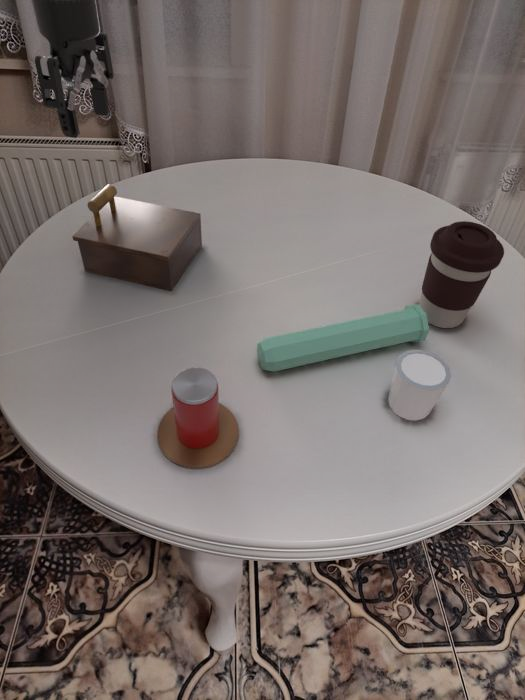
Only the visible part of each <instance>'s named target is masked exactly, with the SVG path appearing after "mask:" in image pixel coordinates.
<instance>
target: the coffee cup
mask: <svg viewBox="0 0 525 700" xmlns="http://www.w3.org/2000/svg"><path fill="white" fill-rule="evenodd" d="M429 247H430V251H431V253H430V255H429V257H428V262H427V266H426V269H425V273H424V277H423V281H422V284H421V294H420V298H419V302H418V304H419V305H420V307H421V308H422V309H423V310H424V312H425V313H426V314H427V320H428V324H430V325H432V326H434V327H437V328H441V329H453V328H455V327H459V326H460V325H461V324H462V323H463V322H464V321H465V319H466V317H467V315H468V313H469V312H470V309H472V307H473V306H474V305H475V303H476V302H477V300H478V299H479V296H480V295H481V293H482V292H483V290H484V288H485V286H486V284H487V282H488V281H489V279H490V277H491V274H492V271H493V270H495V269H496V268H498V267H499V265H500V264H501V262H502V260H503V258H504V255H505V249H504V246H503V244H502V243H501V241H500V240H499V239H498V237H497V236H496V234H495V232H494V231H493V230H491V229H490V228H489V227H487V226H485V225H483V224H482V223H481V224H480V223H478V222H473V221H466V220H464V221H455V222H452V223H450V224H448V225H445V226H442V227H440V228H438V229H436V230H435V231H434V232H433V234H432V237H431V239H430V244H429Z"/></svg>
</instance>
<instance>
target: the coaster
mask: <svg viewBox="0 0 525 700" xmlns="http://www.w3.org/2000/svg"><path fill="white" fill-rule="evenodd" d="M239 432H240V429H239V423H238V421H237V418H236V416H235V415H234V413H233V412H232V411H231V410H230V409H229V408H228V407H226V406H225V405H223V404H221V403H219V435H218V437H217V439H216V440H215V442H214V443H212V444H211V445H210V446H208V447H205V448H201V449H193V448H189V447H186V446H185V445H183V444H182V443H181V442H180V441H179V439H178V437H177V431H176V423H175V415H174V407H172V408H170V409H169V410H168V411H167V412H166V413H164V415H163V417H162V418H161V420H160V422H159V424H158V426H157V433H156V435H157V436H156V438H157V444H158V446H159V449H160V451H161V453H162V454H163V455H164V457H165V458H167V460H169V461H170V462H171V463H173V464H175V465H177V466H180V467H183V468H187V469H197V470H198V469H206V468H210V467H213V466H216V465H218V464H220V463H222V462H223V461H225V460H226V459H227V458H229V456H230V455H231V454H232V452H233V451H234V450H235V449H236V446H237V444H238V442H239V436H240V434H239Z"/></svg>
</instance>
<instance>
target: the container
mask: <svg viewBox="0 0 525 700" xmlns="http://www.w3.org/2000/svg"><path fill="white" fill-rule="evenodd" d="M429 331H430V327H429V323H428V320H427V314H426V313H425V312H424V310H423V309H422V308H421V307H420V305H419V303H417V304H411V305H406V306H405V307H404V309H401V310H396V311H390V312H386V313H381V314H377V315H371V316H366V317H361V318H357V319H352V320H347V321H343V322H338V323H337V322H336V323H331V324H328V325H323V326H318V327H313V328H309V329H308V328H307V329H304V330H299V331H294V332H289V333H284V334H280V335H274V336H270V337H265V338H263V339H261V340H259V341H258V342H257V345H256V355H257V359H258V362H259V364H260V366H261V369H262V370H263V371H268V372H278V371H282V370H287V369H292V368H296V367H300V366H304V365H310V364H313V363H319V362H323V361H327V360H331V359H336V358H341V357H344V356H349V355H353V354H354V355H355V354H359V353H364V352H367V351H372V350H376V349H381V348H385V347H390V346H394V345H398V344H403V343H407V342H411V343H422V342H425V341H426V340H427V337H428V335H429Z"/></svg>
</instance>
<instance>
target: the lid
mask: <svg viewBox="0 0 525 700" xmlns="http://www.w3.org/2000/svg"><path fill="white" fill-rule="evenodd" d="M117 194H118V191H117V188H116V187H115V185H113V184H109V183H108V184H106V185H105V186H104V187H103V188H102V189H101V190H100V191H99V192H97V194H95V195H94V197H92V198H91V199H90V200H89V201H88V202H87V209H88V210H89V211H90V212H91V213H92V214H93V215H92V217H90V218H89V219H88V221H86V223H84V224H83V225H82V226H81V227H80V228H79V229H78V230H77V231H76V232H75V233H74V234H73V235H71V236H72V241H74V242H77V243H78V242H83V243H87V244H92V245H96V246H101V247H106V248H110V249H115V250H119V251H124V252H128V253H133V254H138V255H142V256H147V257H151V258H156V259H160V260H165V261H169V260H170V259H171V257H172V256H173V255H174V253H175V252H176V250H177V249H178V248H179V246H180V245H181V244H182V242H183V241H184V240H185V238H186V237H187V235H188V234H189V233H190V231H191V230H192V229H193V227H194V226H195V225H196V223H197V222H198V220H199V219H200V218H201V219H202V214H201V212H196V211H195V212H194V211H189V210H185V209H179V208H175V207H169V206H164V205H159V204H155V203H151V202H145V201H139V200H135V199H130V198H126V197H125V198H124V197H119V196H116V195H117Z"/></svg>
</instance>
